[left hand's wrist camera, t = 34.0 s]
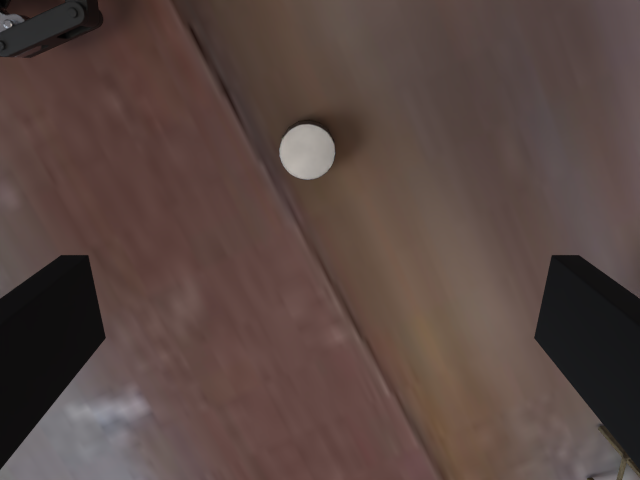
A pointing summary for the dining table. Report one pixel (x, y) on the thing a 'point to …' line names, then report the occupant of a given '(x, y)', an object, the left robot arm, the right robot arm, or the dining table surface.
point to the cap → (307, 150)
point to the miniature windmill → (621, 451)
